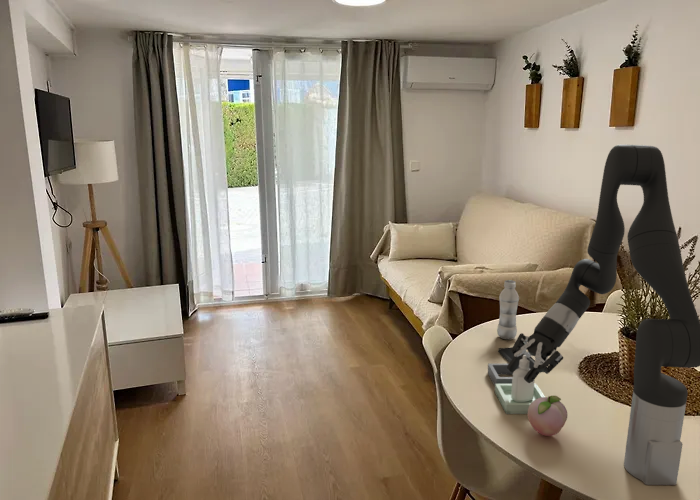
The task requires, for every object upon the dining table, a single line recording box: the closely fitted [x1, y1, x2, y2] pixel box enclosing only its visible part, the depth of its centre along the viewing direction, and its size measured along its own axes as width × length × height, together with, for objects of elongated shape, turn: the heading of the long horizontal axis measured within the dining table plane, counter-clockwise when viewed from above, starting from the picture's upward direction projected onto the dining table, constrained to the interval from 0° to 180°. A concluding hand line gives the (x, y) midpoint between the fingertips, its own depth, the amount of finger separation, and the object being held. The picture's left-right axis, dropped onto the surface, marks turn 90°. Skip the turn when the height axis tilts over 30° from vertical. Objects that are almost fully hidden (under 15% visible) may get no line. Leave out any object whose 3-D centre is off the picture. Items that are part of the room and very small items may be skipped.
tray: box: [494, 383, 546, 415], centre depth 134 cm, size 11×11×2 cm
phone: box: [497, 346, 535, 369], centre depth 159 cm, size 8×1×15 cm
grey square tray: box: [487, 362, 519, 387], centre depth 146 cm, size 9×9×3 cm
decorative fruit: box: [527, 395, 569, 437], centre depth 119 cm, size 9×8×10 cm
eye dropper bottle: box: [511, 355, 535, 402], centre depth 134 cm, size 4×6×12 cm
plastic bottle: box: [496, 279, 520, 341], centre depth 174 cm, size 6×7×20 cm
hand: (518, 375), depth 132 cm, fingers open, 5 cm apart
